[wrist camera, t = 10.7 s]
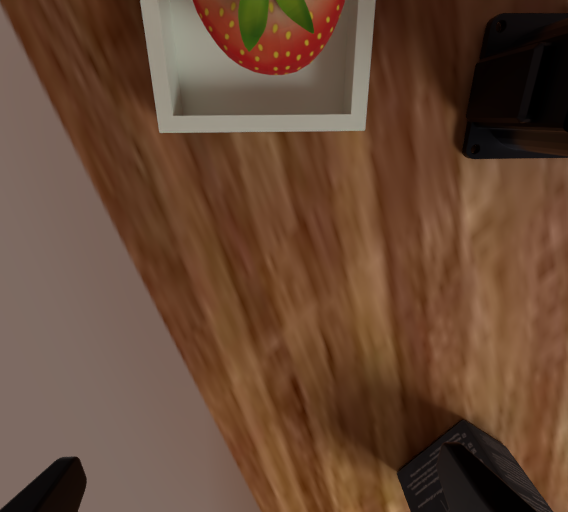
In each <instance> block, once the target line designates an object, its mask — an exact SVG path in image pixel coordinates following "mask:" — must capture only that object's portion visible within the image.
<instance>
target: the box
mask: <svg viewBox="0 0 568 512" xmlns="http://www.w3.org/2000/svg"><path fill="white" fill-rule="evenodd" d="M444 442H459V443H461V444H462V445H464V446H465V447H466V448H467V449H468V450H469V451H470V452H472V453H473V454H474V455H475V456H476V457H477V458H478V459H479V460H480V461H482V462H483V463H484V464H485V465H486V466H487V467H488V468H489V469H490V470H492V471H493V472H494V473H495V474H496V475H497V476H498V477H499V478H500V479H502V480H503V481H504V482H505V483H506V484H507V485H508V486H509V487H511V488H512V489H513V490H514V491H515V492H516V493H517V494H518V495H519V496H521V497H522V498H523V499H524V500H525V501H526V502H527V503H528V504H529V505H531V506H532V507H533V508H534V509H535V510H536V511H537V512H553V511H552V510H551V508H550V507H549V506H548V504H547V503H546V501H545V500H544V499H543V497H542V496H541V495H540V493H539V492H538V490H537V489H536V487H535V486H534V485H533V483H532V482H531V481H530V479H529V478H528V476H527V475H526V474H525V472H524V471H523V469H522V468H521V467H520V465H519V464H518V463H517V461H516V460H515V458H514V457H513V456H512V454H511V453H510V452H509V450H508V449H507V448H506V446H504V445H503V444H501V443H500V442H498V441H497V440H495V439H493V438H492V437H490V436H489V435H487V434H486V433H484V432H482V431H481V430H479V429H478V428H476V427H475V426H473V425H472V424H470V423H468V422H467V421H465V420H462V421H461V422H459V423H458V424H457V425H456V426H454V427H453V428H452V429H451V430H450V431H448V432H447V433H446V434H445V435H443V436H442V437H441V438H440V439H438V440H437V441H436V442H435V443H434V444H432V445H431V446H430V447H429V448H427V449H426V450H425V451H424V452H422V453H421V454H420V455H419V456H417V457H416V458H415V459H414V460H412V461H411V462H410V463H409V464H408V465H406V466H405V467H404V468H402V469H401V470H400V471H399V472H397V475H398V478H399V481H400V484H401V486H402V489H403V492H404V495H405V498H406V500H407V503H408V505H409V508H410V511H411V512H450V510H449V507H448V504H447V501H446V498H445V495H444V492H443V489H442V485H441V482H440V479H439V476H438V473H437V460H438V456H439V452H440V448H441V445H442V444H443V443H444Z"/></svg>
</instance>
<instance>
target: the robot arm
mask: <svg viewBox="0 0 568 512" xmlns="http://www.w3.org/2000/svg"><path fill="white" fill-rule="evenodd" d="M498 22H499V23H500V24H501V30H500V32H497V31H496V25H497V23H498ZM466 118H467V120H468V122H467V127H466V132H465V138H464V143H463V148H462V153H463V155H464V156H465V157H467V158H471V159H507V158H568V13H503V14H499V15H497V16H495V17H493V18H492V19H490V21H489V22H488V23H487V26H486V29H485V34H484V39H483V44H482V50H481V55H480V60H479V62H478V63H477V64H476V67H475V72H474V77H473V82H472V88H471V93H470V98H469V103H468V109H467V114H466ZM473 145H476V150H475V151H474V152H473V153H471V148H472V146H473ZM437 473H438V476H439V479H440V482H441V485H442V489H443V492H444V495H445V498H446V501H447V504H448V507H449V510H450V512H537V511H536V510H535V509H534V508H533V507H532V506H531V505H529V504H528V503H527V502H526V501H525V500H524V499H523V498H522V497H521V496H519V495H518V494H517V493H516V492H515V491H514V490H513V489H512V488H511V487H509V486H508V485H507V484H506V483H505V482H504V481H503V480H502V479H500V478H499V477H498V476H497V475H496V474H495V473H494V472H493V471H492V470H490V469H489V468H488V467H487V466H486V465H485V464H484V463H483V462H482V461H480V460H479V459H478V458H477V457H476V456H475V455H474V454H473V453H472V452H470V451H469V450H468V449H467V448H466V447H465V446H464V445H462V444H461V443H459V442H444V443H443V444H442V445H441V448H440V452H439V456H438V460H437ZM86 480H87V479H86V475H85V472H84V470H83V467H82V464H81V462H80V459H79V458H78V457H62V458H59V459H57V460H56V461H55V462H53V463H52V464H51V465H50V466H49V467H48V468H47V469H46V470H45V471H43V472H42V473H41V474H40V475H39V476H38V477H36V478H35V479H34V480H33V481H32V482H31V483H30V484H29V485H27V486H26V487H25V488H24V489H23V490H22V491H21V492H19V493H18V494H17V495H16V496H15V497H14V498H13V499H12V500H10V501H9V502H8V503H7V504H6V505H5V506H4V507H3V508H1V509H0V512H78V509H79V506H80V503H81V500H82V497H83V494H84V492H85V488H86V483H87V481H86Z"/></svg>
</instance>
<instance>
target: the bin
mask: <svg viewBox="0 0 568 512" xmlns="http://www.w3.org/2000/svg"><path fill="white" fill-rule="evenodd" d="M375 2H376V0H345V3H344V6H343V9H342V12H341V15H340V17H339V20H338V22H337V24H336V27H335V29H334V31H333V33H332V36H331V37H330V39H329V40H328V42H327V44H326V45H325V47H324V48H323V50H322V51H321V52H320V53H319V55H318V56H317V57H316V58H315V59H314V60H313V61H312V62H311V63H310V64H309V65H307V66H305V67H304V68H302V69H300V70H299V71H297V72H294V73H290V74H285V75H266V74H261V73H255V72H253V71H251V70H249V69H246V68H244V67H242V66H240V65H239V64H237V63H236V62H234V61H233V60H232V59H230V58H229V57H228V56H227V55H226V54H225V53H224V52H223V51H222V50H221V49H220V48H219V46H218V45H217V44H216V42H215V41H214V40H213V38H212V37H211V35H210V34H209V32H208V31H207V29H206V28H205V26H204V24H203V22H202V21H201V19H200V17H199V15H198V13H197V11H196V8H195V6H194V3H193V0H140V3H141V10H142V17H143V24H144V30H145V37H146V44H147V51H148V58H149V65H150V72H151V78H152V85H153V92H154V99H155V106H156V113H157V120H158V126H159V133H186V132H285V131H365V124H366V112H367V100H368V87H369V75H370V63H371V51H372V39H373V26H374V14H375Z"/></svg>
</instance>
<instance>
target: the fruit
mask: <svg viewBox="0 0 568 512" xmlns="http://www.w3.org/2000/svg"><path fill="white" fill-rule="evenodd" d="M193 3H194V6H195V8H196V11H197V13H198V15H199V17H200V19H201V21H202V22H203V24H204V26H205V28H206V29H207V31H208V32H209V34H210V35H211V37H212V38H213V40H214V41H215V42H216V44H217V45H218V46H219V48H220V49H221V50H222V51H223V52H224V53H225V54H226V55H227V56H228V57H229V58H230V59H232V60H233V61H234V62H236V63H237V64H239V65H240V66H242V67H244V68H246V69H249V70H251V71H253V72H255V73H261V74H266V75H285V74H290V73H294V72H297V71H299V70H300V69H302V68H304V67H305V66H307V65H309V64H310V63H311V62H312V61H313V60H314V59H315V58H316V57H317V56H318V55H319V53H320V52H321V51H322V50H323V48H324V47H325V45H326V44H327V42H328V40H329V39H330V37H331V36H332V33H333V31H334V29H335V27H336V24H337V22H338V20H339V17H340V15H341V12H342V9H343V6H344V3H345V0H193Z"/></svg>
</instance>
